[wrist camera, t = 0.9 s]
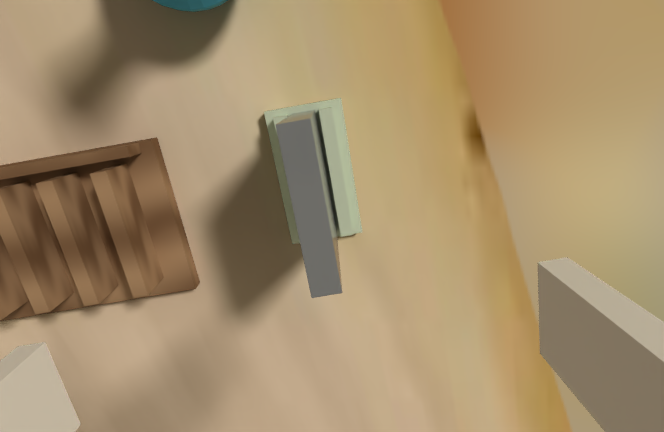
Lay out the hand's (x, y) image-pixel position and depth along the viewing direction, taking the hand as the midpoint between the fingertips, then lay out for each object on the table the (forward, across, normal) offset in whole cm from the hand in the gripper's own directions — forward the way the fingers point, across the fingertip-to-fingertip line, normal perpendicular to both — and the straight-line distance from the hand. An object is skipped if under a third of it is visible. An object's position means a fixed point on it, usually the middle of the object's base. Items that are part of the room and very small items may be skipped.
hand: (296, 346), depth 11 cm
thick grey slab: (+23, 0, 0) cm, 23 cm away
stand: (+24, 0, 0) cm, 24 cm away
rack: (+24, -21, -1) cm, 32 cm away
